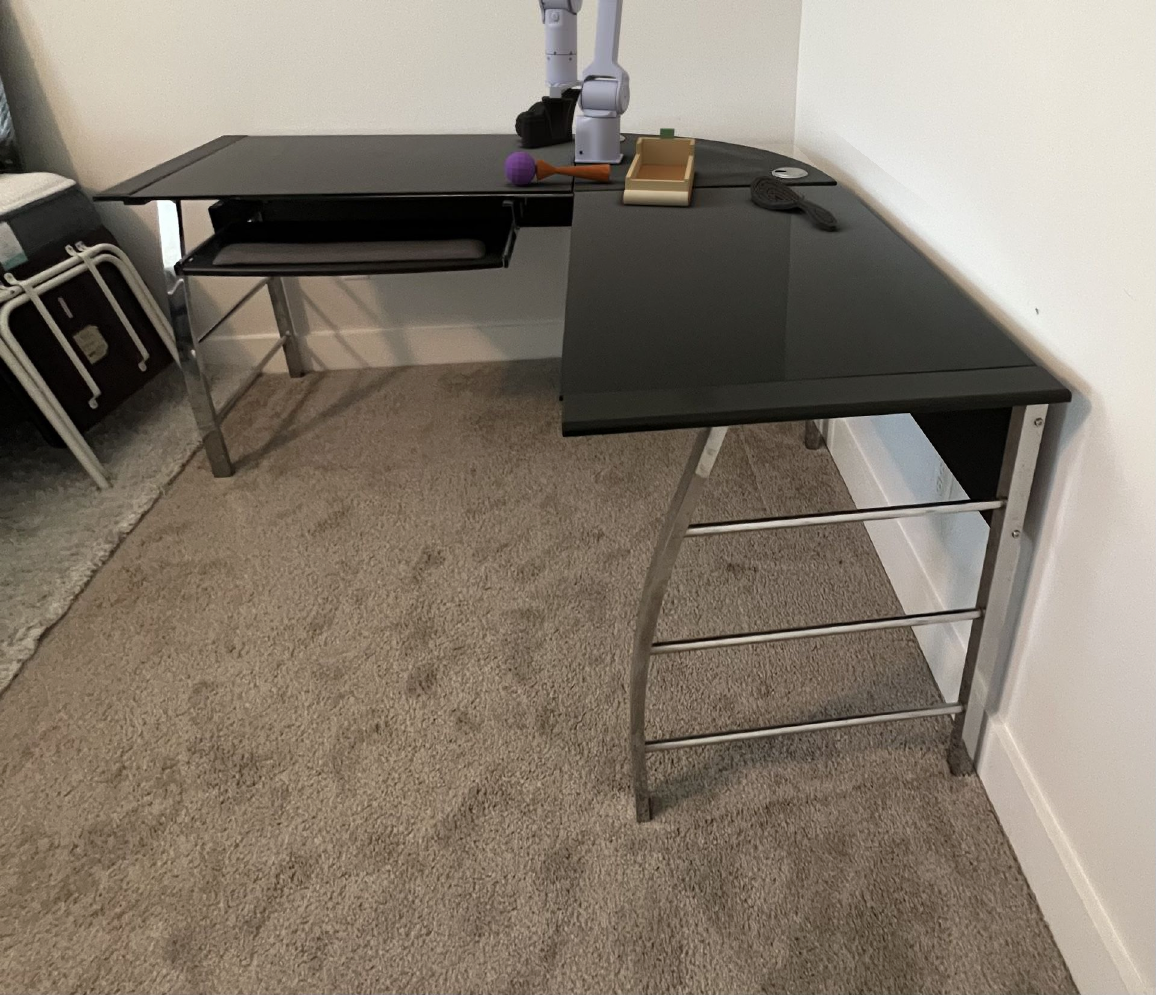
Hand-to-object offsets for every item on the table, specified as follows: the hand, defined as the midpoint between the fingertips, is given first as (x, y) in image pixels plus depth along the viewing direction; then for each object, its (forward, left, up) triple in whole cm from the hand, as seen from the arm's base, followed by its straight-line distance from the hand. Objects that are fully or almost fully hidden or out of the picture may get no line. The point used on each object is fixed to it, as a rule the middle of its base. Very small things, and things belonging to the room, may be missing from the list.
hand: (562, 134), depth 158 cm
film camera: (-12, +38, -9) cm, 41 cm away
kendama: (-1, -1, -9) cm, 9 cm away
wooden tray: (+19, -1, -9) cm, 21 cm away
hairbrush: (+43, -15, -9) cm, 46 cm away
